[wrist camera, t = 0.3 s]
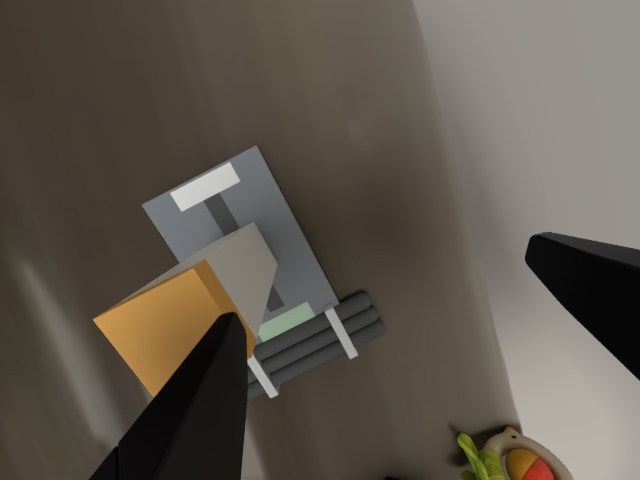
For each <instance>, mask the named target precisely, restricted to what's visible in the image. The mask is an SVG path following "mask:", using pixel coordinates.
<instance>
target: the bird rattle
mask: <svg viewBox="0 0 640 480" xmlns="http://www.w3.org/2000/svg"><path fill="white" fill-rule="evenodd" d="M457 442H458V443H459V445H460V446H461V447H462V448H463V449H464V451H465V453H466V456H467V458H468V460H469V462H470V464H471V466H472V468H473V471H474V473H475V474H474V473H472V472H470V471H468V470H465V471H463V472H462V473H461V477H462V479H463V480H508V479H507V477H506V475H505V473H504V469H503V466H502V463H501V457H502V456H503V455H505V454H507V453H508V454H507V455H506V461H505V465H506V470H507V473H508V476H509V477H510V479H511V480H574V478H573V477H572V475H571V473H570V472H569V471H568V469H567V468H566V466H565V465H564V464H563V463H562V462H561V461H560V460H559V459H558V458H557V457H556V456H555V455H554V454H553V453H551V452H550V451H549V450H548V449H546V448H545V447H544V446H542V445H541V444H539V443H537V442H535V441H534V440H532V439H530V438H528V437H525V436H522V435H520V434H519V433H518V432H517V431H515V430H514V429H513V428H511V427H509V426H508V427H506V428H505V430H504V432H503V433H499V434H496V435H494V436H493V437H491V438H490V439H489V440H488V441H487V442H486V444H485V445H484V447H483V449H482V450H480V451H477V449H476V447H475V445H474V443H473V442H472V440H471V438H470V437H469V436H468V435H467V434H465V433H462V432H461V433H460V436H458V438H457Z"/></svg>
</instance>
